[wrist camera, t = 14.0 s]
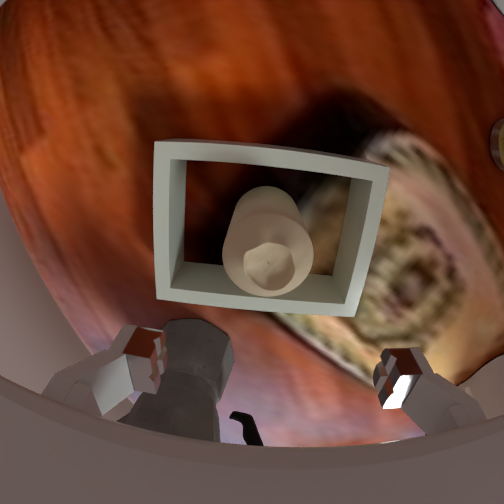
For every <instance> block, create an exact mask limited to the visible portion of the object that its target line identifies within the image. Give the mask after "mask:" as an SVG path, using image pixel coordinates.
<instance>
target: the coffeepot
mask: <svg viewBox="0 0 504 504" xmlns="http://www.w3.org/2000/svg"><path fill="white" fill-rule="evenodd" d="M162 331H164V332H165V334H166V341H165V344H164V346H165V347H166V348H167V364H166V368H165V371H164V373H163V374H161V375H160V379H161V382H160V385H159V388H158V390H157V393H156V394H151V393H146V392H143V393H142V394H141V395H140V396H139V398H138V399H137V401H136V403H135V404H134V406H133V408H132V409H131V411H130V413H128V414H127V415H125V416H124V417H122V418H121V419H119V420H117V421H116V422H120V423H123V424H127V425H131V426H135V427H139V428H143V429H147V430H151V431H156V432H160V433H165V434H170V435H175V436H181V437H187V438H193V439H199V440H206V441H213V442H220V429H219V417H218V412H217V409H216V404H217V403H218V402H219V400H220V399H221V397H222V394H223V391H224V388H225V386H226V383H227V380H228V378H229V375H230V372H231V369H232V367H233V364H234V357H233V350H232V346H231V341H230V337H228V336H227V335H226V334H225V333H223V332H222V331H221V330H220V329H218V328H217V327H215V326H213V325H212V324H210V323H207V322H205V321H203V320H200V319H178V320H175V321H169V322H168V323H167V324H166V325H165V326H164V327H163V328H162ZM229 418H230V419H234V420H237V421H239V422H241V423H242V425H243V438H244V440H245V442H246V444H247V445H252V446H264V445H263V443H262V440H261V438H260V435H259V433H258V430H257V427H256V424H255V422H254V419H253V417H252V416H251V415H249V414H246V413H242V412H237V411H233V412H232V414H231V415H230V417H229Z"/></svg>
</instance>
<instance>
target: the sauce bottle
mask: <svg viewBox="0 0 504 504" xmlns="http://www.w3.org/2000/svg"><path fill="white" fill-rule="evenodd" d="M490 150H491V154H492V157H493V159H494V162H495V163H496V165H497V167H498V168H499V169H501V170H502V171H504V119H502V120H499V121H497V122H496V123H495V124H494V126H493V128H492V131H491V135H490Z"/></svg>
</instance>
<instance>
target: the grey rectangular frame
mask: <svg viewBox="0 0 504 504" xmlns="http://www.w3.org/2000/svg"><path fill="white" fill-rule="evenodd" d="M187 160H201V161H216V162H230V163H242V164H253V165H263V166H272V167H281V168H290V169H298V170H306V171H313V172H320V173H327V174H334V175H340V176H346V177H351V183H350V189H349V195H348V201H347V206H346V212H345V217H344V222H343V227H342V232H341V237H340V242H339V247H338V252H337V256H336V261H335V265H334V270H333V274H332V276H331V275H320V274H308V276H307V277H306V278H305V280H304V281H303V282H302V283H301V284H300V285H299V286H297V287H296V288H295V289H293V290H292V291H290V292H287V293H285V294H282V295H278V296H271V297H263V296H257V295H253V294H250V293H248V292H246V291H244V290H242V289H241V288H239V287H238V286H237V285H236V284H234V283H233V281H232V280H231V279H230V278H229V276H228V275H227V273H226V271H225V268H224V266H223V265H213V264H203V263H193V262H184V217H185V185H186V164H187ZM389 173H390V167H387V166H385V165H382V164H379V163H376V162H373V161H370V160H367V159H362V158H357V157H351V156H346V155H340V154H334V153H328V152H322V151H315V150H308V149H301V148H293V147H285V146H277V145H267V144H258V143H247V142H235V141H220V140H203V139H176V138H174V139H167V140H161V141H155V143H154V169H153V235H154V263H155V281H156V296H157V299H160V300H168V301H175V302H183V303H191V304H200V305H209V306H218V307H227V308H237V309H247V310H258V311H270V312H283V313H296V314H311V315H328V316H348V317H354V316H355V313H356V310H357V307H358V303H359V300H360V297H361V293H362V290H363V286H364V283H365V279H366V276H367V272H368V268H369V265H370V261H371V257H372V253H373V249H374V245H375V241H376V237H377V233H378V228H379V224H380V219H381V215H382V210H383V205H384V200H385V195H386V190H387V184H388V179H389Z"/></svg>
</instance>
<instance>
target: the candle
mask: <svg viewBox="0 0 504 504" xmlns="http://www.w3.org/2000/svg"><path fill="white" fill-rule="evenodd" d="M313 258H314V250H313V245H312V242H311V239H310V236H309V234H308V232H307V229H306V227H305V225H304V222H303V220H302V217H301V215H300V213H299V210H298V208H297V206H296V204H295V202H294V201H293V199H292V198H291V197H290V196H289V195H288V194H287V193H286V192H284V191H283V190H281V189H279V188H276V187H271V186H261V187H256V188H254V189H252V190H250V191H248V192H247V193H245V194H244V195H243V196H242V197H241V198H240V200H239V201H238V203H237V205H236V207H235V210H234V213H233V216H232V219H231V223H230V226H229V229H228V232H227V235H226V239H225V242H224V246H223V251H222V260H223V265H224V268H225V271H226V273H227V275H228V276H229V278H230V279H231V280H232V281H233V283H234V284H236V285H237V286H238V287H239V288H241V289H242V290H244V291H246V292H248V293H250V294H253V295H257V296H263V297H271V296H278V295H282V294H285V293H287V292H290V291H292V290H293V289H295V288H296V287H297V286H299V285H300V284H301V283H302V282H303V281H304V280H305V278H306V277H307V276H308V274H309V272H310V270H311V267H312V264H313Z"/></svg>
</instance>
